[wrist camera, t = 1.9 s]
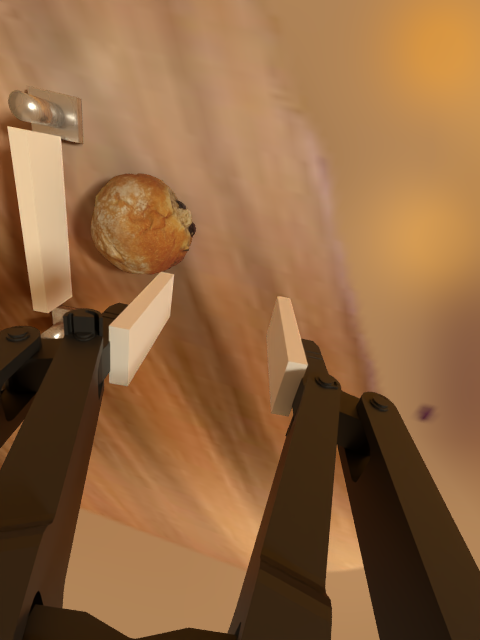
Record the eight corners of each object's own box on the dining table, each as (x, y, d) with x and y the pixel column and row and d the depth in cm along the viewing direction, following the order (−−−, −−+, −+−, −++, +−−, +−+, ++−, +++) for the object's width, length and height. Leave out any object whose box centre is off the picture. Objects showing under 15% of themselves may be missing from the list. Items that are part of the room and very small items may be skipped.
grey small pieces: (57, 328, 38) (31, 349, 34) (33, 88, 27) (-12, 71, 22) (91, 335, 39) (69, 356, 34) (81, 99, 27) (46, 84, 23)
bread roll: (136, 166, 33) (69, 153, 26) (211, 193, 29) (156, 186, 23) (128, 251, 37) (68, 259, 30) (193, 282, 34) (142, 298, 27)
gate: (59, 294, 35) (33, 310, 31) (44, 133, 27) (7, 126, 23) (72, 296, 35) (47, 313, 31) (60, 136, 27) (26, 130, 23)
